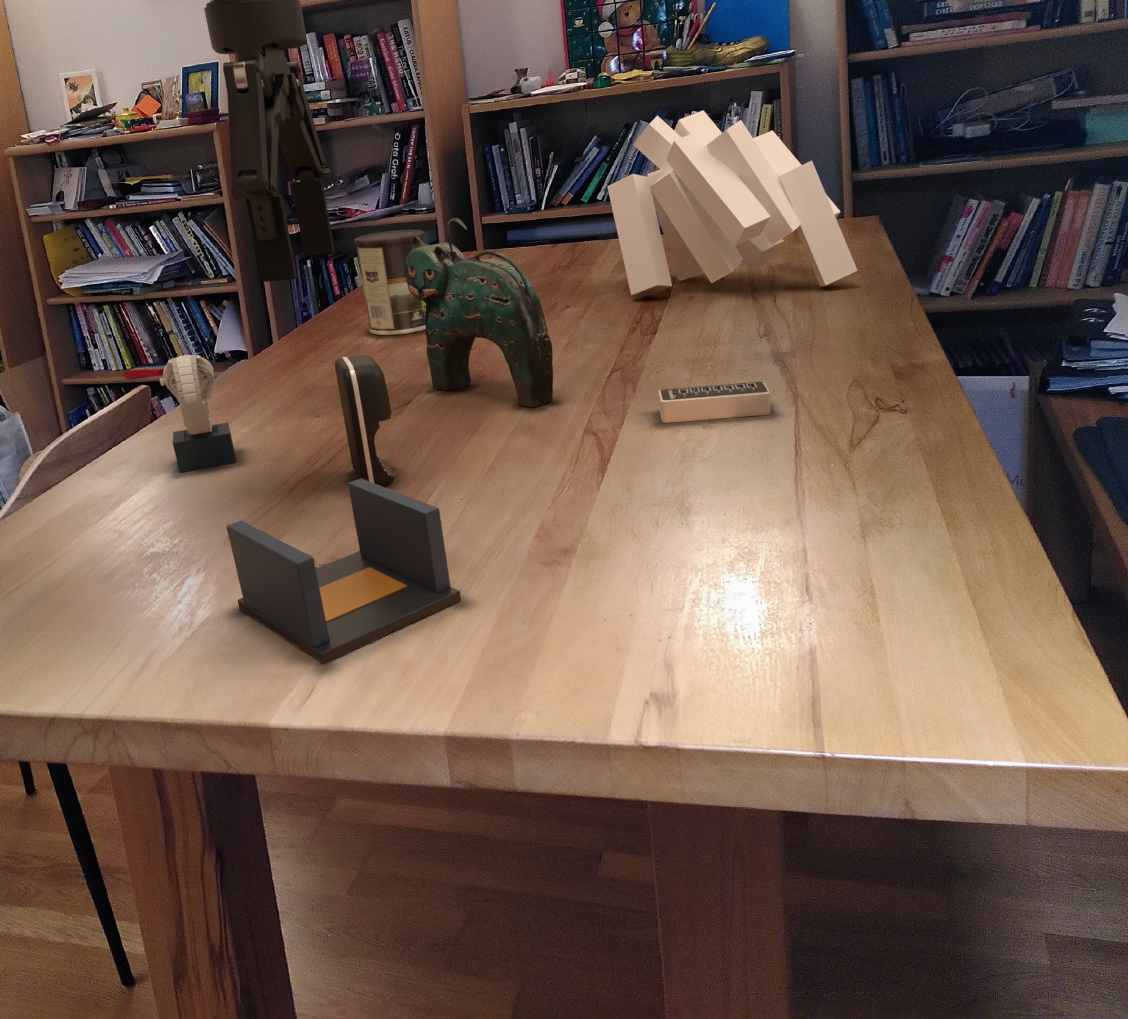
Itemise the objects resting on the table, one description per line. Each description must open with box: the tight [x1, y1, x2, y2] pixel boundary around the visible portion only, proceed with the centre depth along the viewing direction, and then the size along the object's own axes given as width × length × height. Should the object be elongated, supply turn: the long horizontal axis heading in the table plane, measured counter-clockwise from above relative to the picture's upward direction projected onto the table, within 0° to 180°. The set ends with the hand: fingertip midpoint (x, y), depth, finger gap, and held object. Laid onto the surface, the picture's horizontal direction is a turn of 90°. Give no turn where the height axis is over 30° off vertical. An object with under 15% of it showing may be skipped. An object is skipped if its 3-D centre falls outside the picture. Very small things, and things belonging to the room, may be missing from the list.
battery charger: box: [334, 354, 395, 486], centre depth 96 cm, size 7×4×11 cm, turn 19°
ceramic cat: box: [405, 217, 554, 408], centre depth 118 cm, size 20×6×20 cm, turn 45°
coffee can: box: [354, 229, 426, 336], centre depth 158 cm, size 10×10×14 cm
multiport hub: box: [658, 381, 771, 424], centre depth 107 cm, size 4×11×2 cm, turn 89°
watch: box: [159, 354, 237, 473], centre depth 105 cm, size 6×8×11 cm
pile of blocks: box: [607, 110, 859, 297], centre depth 165 cm, size 35×30×35 cm
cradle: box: [225, 478, 461, 664], centre depth 72 cm, size 12×11×7 cm
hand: (301, 266), depth 91 cm, fingers open, 13 cm apart
